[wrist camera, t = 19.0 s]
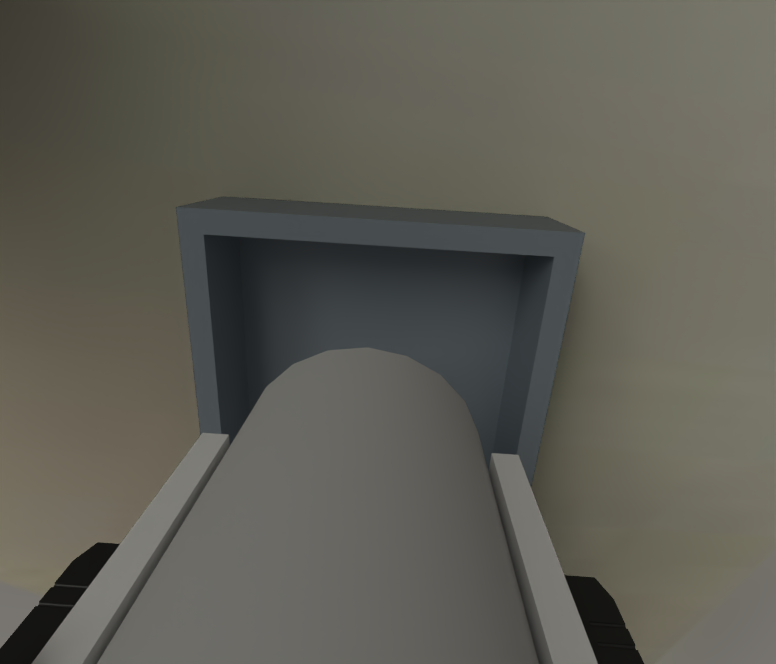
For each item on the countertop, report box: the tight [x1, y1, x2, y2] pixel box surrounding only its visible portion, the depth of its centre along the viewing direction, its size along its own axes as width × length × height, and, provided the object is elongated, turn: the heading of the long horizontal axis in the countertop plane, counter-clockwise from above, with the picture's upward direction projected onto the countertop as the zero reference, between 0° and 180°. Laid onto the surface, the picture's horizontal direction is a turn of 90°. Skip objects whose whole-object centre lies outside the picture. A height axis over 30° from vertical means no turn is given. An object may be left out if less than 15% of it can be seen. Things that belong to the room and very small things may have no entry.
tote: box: [176, 197, 585, 487], centre depth 24 cm, size 24×16×5 cm, turn 177°
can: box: [97, 347, 539, 664], centre depth 10 cm, size 8×8×12 cm
